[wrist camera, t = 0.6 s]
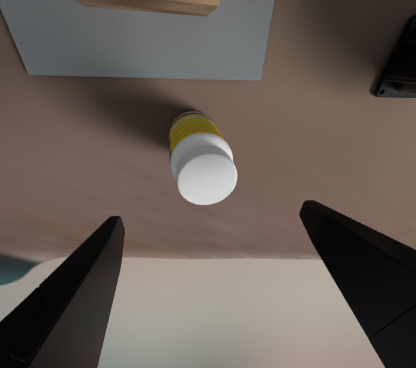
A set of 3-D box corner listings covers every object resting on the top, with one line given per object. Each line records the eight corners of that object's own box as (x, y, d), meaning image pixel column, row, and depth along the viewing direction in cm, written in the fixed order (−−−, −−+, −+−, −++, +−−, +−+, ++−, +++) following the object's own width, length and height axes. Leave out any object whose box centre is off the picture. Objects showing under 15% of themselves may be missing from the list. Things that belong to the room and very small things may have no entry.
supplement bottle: (158, 126, 18) (154, 171, 11) (203, 100, 17) (227, 131, 11) (184, 164, 21) (193, 219, 14) (223, 143, 20) (252, 190, 13)
